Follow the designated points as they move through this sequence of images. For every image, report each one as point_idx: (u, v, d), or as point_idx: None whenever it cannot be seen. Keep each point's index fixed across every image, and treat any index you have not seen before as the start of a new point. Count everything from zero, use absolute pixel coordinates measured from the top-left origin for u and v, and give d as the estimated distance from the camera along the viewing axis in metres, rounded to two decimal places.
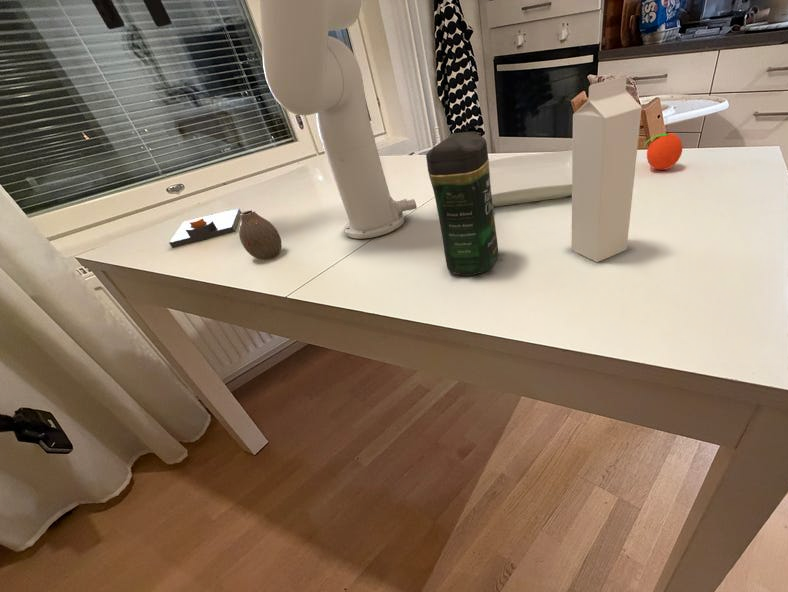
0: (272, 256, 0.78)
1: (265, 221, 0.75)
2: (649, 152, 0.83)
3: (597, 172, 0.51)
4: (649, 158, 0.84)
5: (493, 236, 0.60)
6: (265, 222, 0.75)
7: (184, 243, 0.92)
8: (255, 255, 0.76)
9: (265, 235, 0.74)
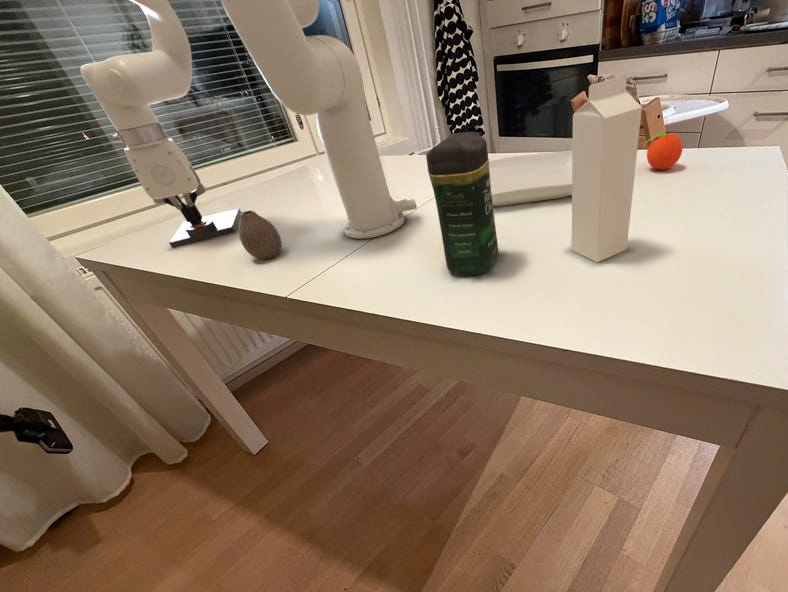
0: (272, 256, 0.78)
1: (265, 221, 0.75)
2: (649, 152, 0.83)
3: (597, 172, 0.51)
4: (649, 158, 0.84)
5: (493, 236, 0.60)
6: (265, 222, 0.75)
7: (184, 243, 0.92)
8: (255, 255, 0.76)
9: (265, 235, 0.74)
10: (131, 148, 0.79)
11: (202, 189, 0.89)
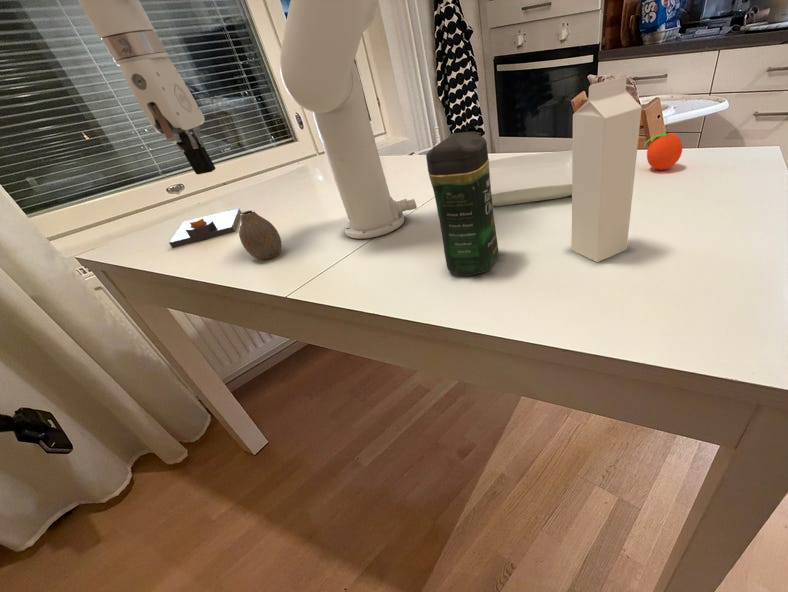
0: (272, 256, 0.78)
1: (265, 221, 0.75)
2: (649, 152, 0.83)
3: (597, 172, 0.51)
4: (649, 158, 0.84)
5: (493, 236, 0.60)
6: (265, 222, 0.75)
7: (184, 243, 0.92)
8: (255, 255, 0.76)
9: (265, 235, 0.74)
10: (151, 57, 0.61)
11: (198, 126, 0.74)
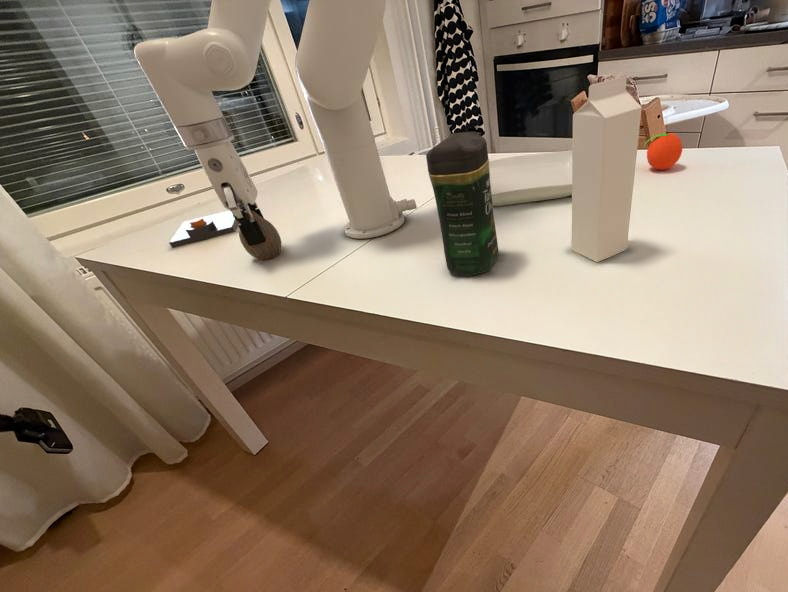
0: (272, 256, 0.78)
1: (265, 221, 0.75)
2: (649, 152, 0.83)
3: (597, 172, 0.51)
4: (649, 158, 0.84)
5: (493, 236, 0.60)
6: (265, 222, 0.75)
7: (184, 243, 0.92)
8: (255, 255, 0.76)
9: (265, 235, 0.74)
10: (225, 142, 0.65)
11: None
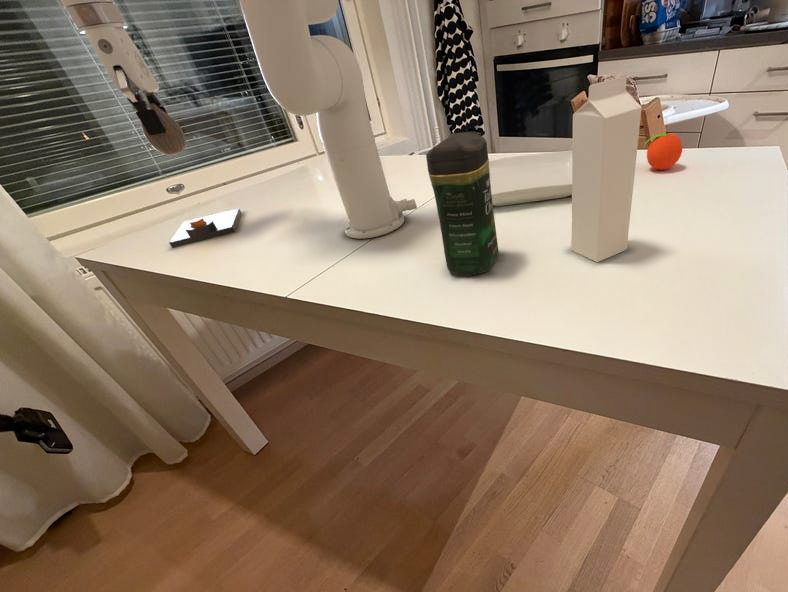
0: (175, 150, 0.83)
1: (166, 114, 0.81)
2: (649, 152, 0.83)
3: (597, 172, 0.51)
4: (649, 158, 0.84)
5: (493, 236, 0.60)
6: (165, 115, 0.80)
7: (184, 243, 0.92)
8: (158, 147, 0.82)
9: (165, 126, 0.80)
10: (115, 26, 0.70)
11: None
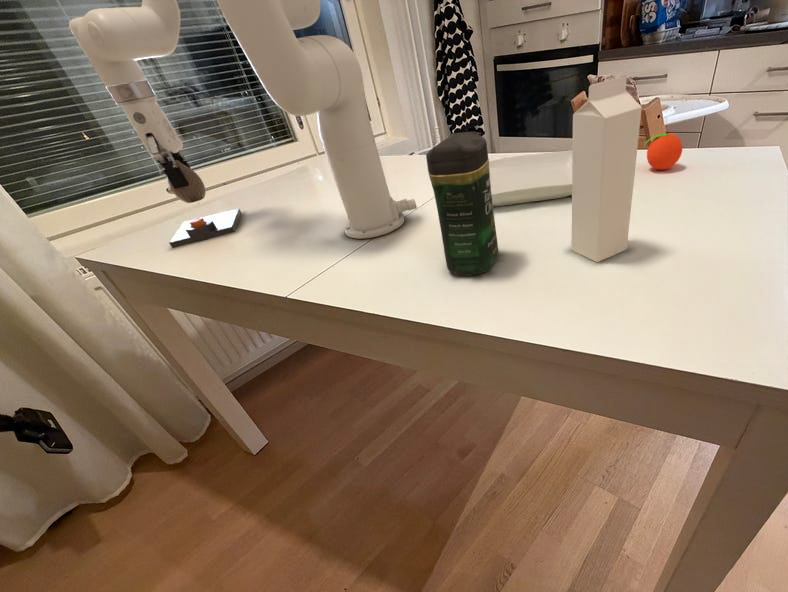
0: (196, 199, 0.95)
1: (188, 169, 0.92)
2: (649, 152, 0.83)
3: (597, 172, 0.51)
4: (649, 158, 0.84)
5: (493, 236, 0.60)
6: (188, 170, 0.92)
7: (184, 243, 0.92)
8: (181, 197, 0.93)
9: (188, 180, 0.91)
10: (148, 100, 0.82)
11: None
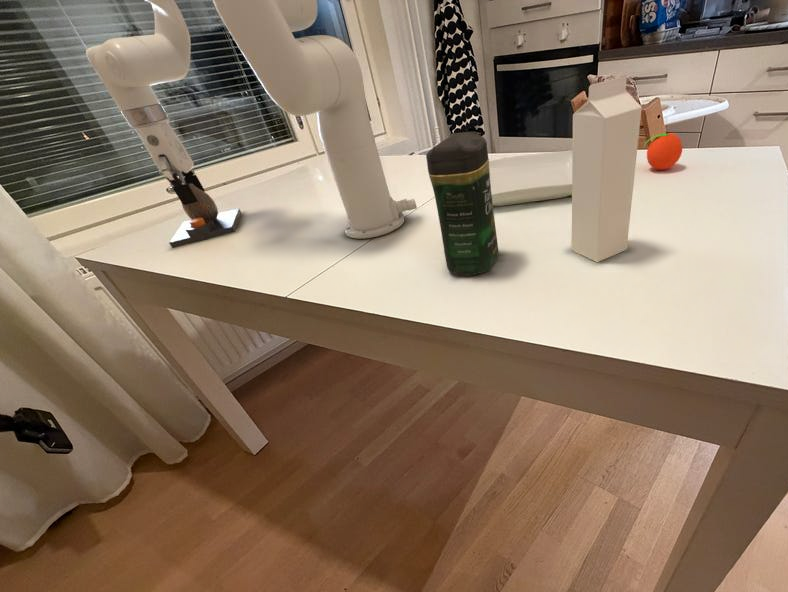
0: None
1: (202, 192, 0.95)
2: (649, 152, 0.83)
3: (597, 172, 0.51)
4: (649, 158, 0.84)
5: (493, 236, 0.60)
6: (201, 193, 0.95)
7: (184, 243, 0.92)
8: None
9: (201, 203, 0.95)
10: (161, 122, 0.84)
11: None
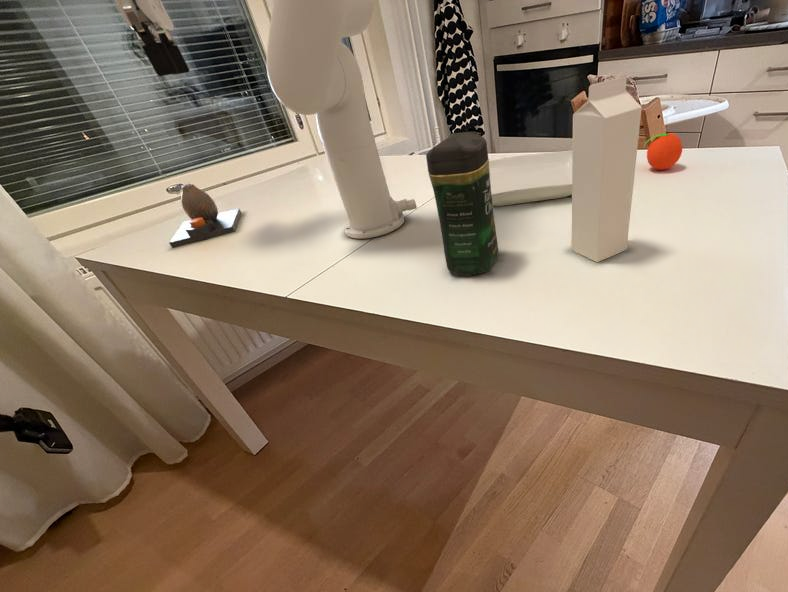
0: None
1: (202, 192, 0.95)
2: (649, 152, 0.83)
3: (597, 172, 0.51)
4: (649, 158, 0.84)
5: (493, 236, 0.60)
6: (202, 193, 0.95)
7: (184, 243, 0.92)
8: None
9: (201, 203, 0.95)
10: None
11: None
